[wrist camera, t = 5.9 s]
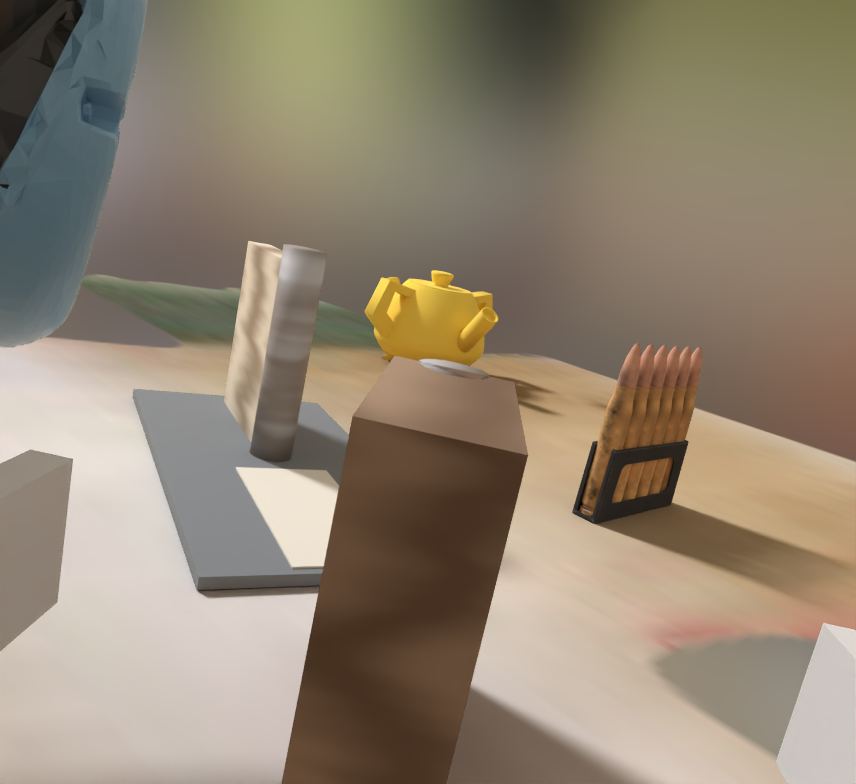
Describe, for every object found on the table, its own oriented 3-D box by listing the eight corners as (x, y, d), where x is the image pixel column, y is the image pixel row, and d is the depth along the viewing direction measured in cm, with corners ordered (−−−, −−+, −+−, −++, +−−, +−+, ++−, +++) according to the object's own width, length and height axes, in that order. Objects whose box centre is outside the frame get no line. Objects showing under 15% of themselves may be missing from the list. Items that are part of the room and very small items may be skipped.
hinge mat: (479, 579, 39) (482, 566, 39) (196, 590, 32) (199, 575, 32) (315, 410, 63) (317, 402, 62) (132, 396, 56) (133, 387, 56)
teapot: (314, 340, 91) (330, 246, 89) (430, 348, 103) (447, 265, 100) (413, 391, 77) (436, 280, 74) (536, 394, 88) (560, 298, 86)
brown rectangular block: (274, 821, 22) (352, 416, 19) (340, 632, 32) (398, 349, 29) (427, 857, 22) (527, 454, 19) (445, 656, 32) (512, 375, 29)
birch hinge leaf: (296, 462, 48) (333, 255, 45) (255, 460, 47) (290, 248, 44) (251, 403, 58) (279, 232, 56) (217, 401, 57) (243, 225, 54)
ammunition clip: (650, 495, 59) (693, 344, 57) (671, 504, 58) (717, 350, 55) (571, 512, 52) (617, 339, 49) (594, 524, 50) (643, 346, 48)
